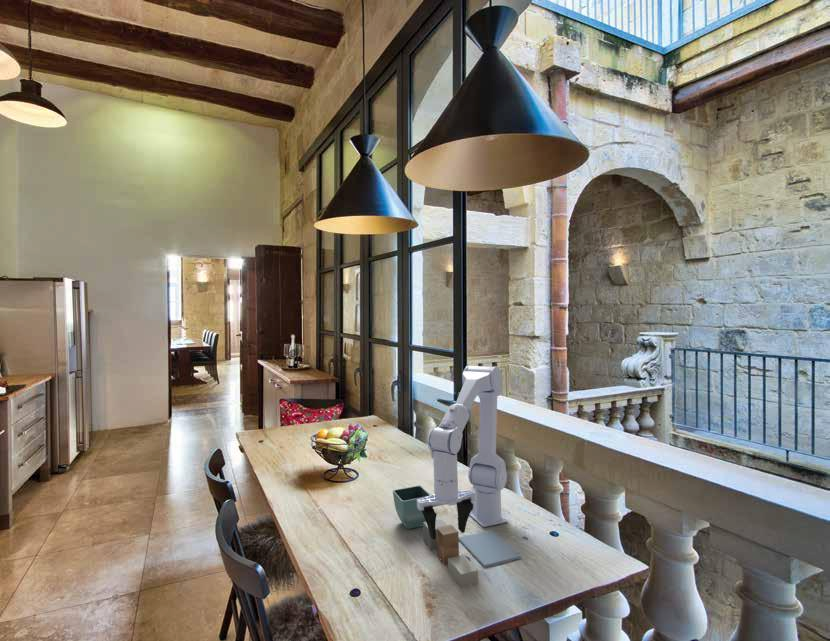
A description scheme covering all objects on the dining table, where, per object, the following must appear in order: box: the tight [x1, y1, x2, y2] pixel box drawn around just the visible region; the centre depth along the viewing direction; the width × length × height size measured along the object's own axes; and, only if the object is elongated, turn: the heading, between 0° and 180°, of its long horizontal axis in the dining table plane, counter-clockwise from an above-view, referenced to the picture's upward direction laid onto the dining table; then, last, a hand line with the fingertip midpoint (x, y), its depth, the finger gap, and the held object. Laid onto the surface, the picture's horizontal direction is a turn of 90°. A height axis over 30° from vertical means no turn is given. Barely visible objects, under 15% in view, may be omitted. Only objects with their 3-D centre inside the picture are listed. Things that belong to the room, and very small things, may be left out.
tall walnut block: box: [436, 524, 460, 565], centre depth 108 cm, size 4×4×7 cm
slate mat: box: [459, 529, 522, 568], centre depth 112 cm, size 14×10×1 cm
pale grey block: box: [447, 554, 479, 588], centre depth 100 cm, size 7×4×3 cm, turn 20°
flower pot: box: [392, 485, 431, 530], centre depth 126 cm, size 9×9×9 cm
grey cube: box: [422, 518, 447, 551], centre depth 115 cm, size 5×5×5 cm
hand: (447, 534), depth 108 cm, fingers open, 7 cm apart
